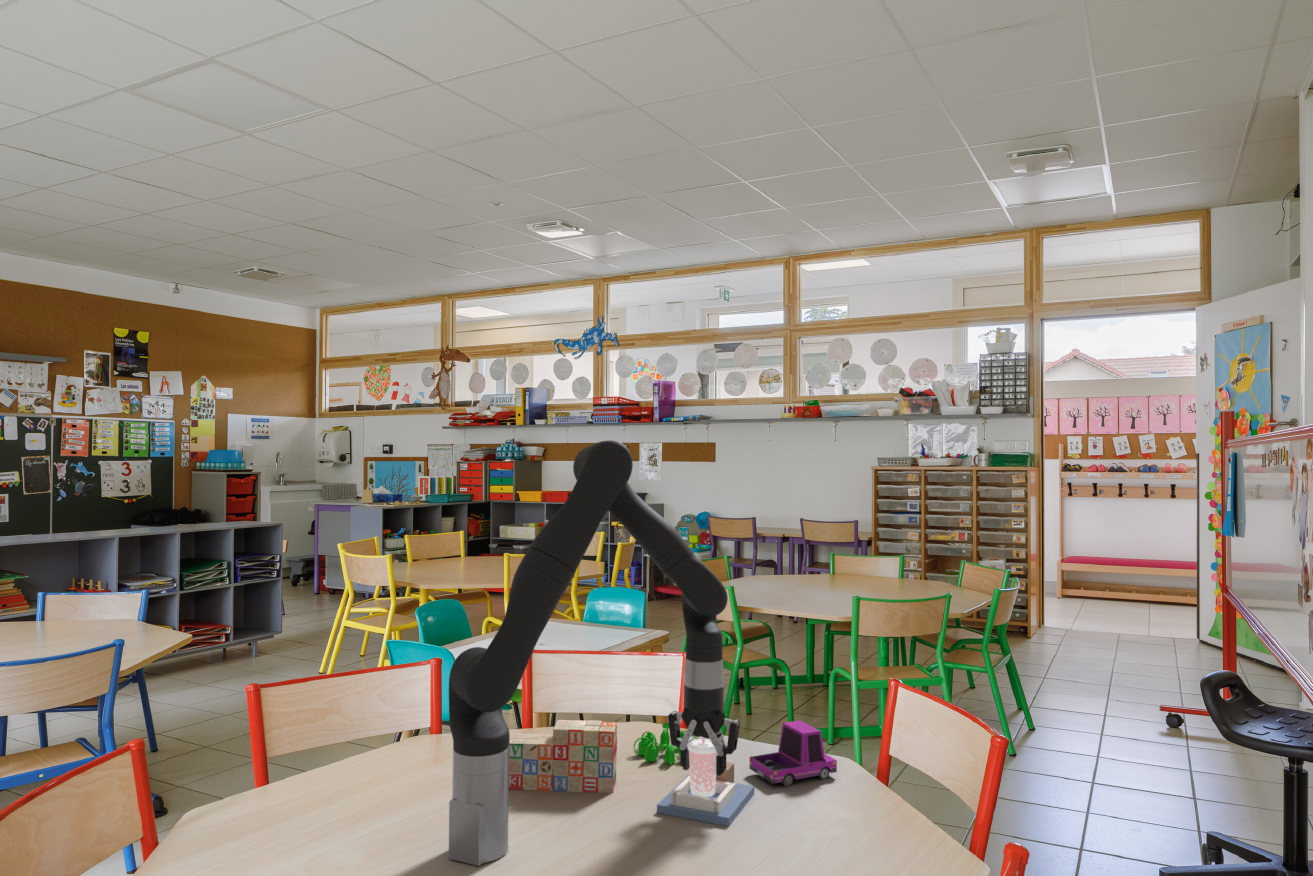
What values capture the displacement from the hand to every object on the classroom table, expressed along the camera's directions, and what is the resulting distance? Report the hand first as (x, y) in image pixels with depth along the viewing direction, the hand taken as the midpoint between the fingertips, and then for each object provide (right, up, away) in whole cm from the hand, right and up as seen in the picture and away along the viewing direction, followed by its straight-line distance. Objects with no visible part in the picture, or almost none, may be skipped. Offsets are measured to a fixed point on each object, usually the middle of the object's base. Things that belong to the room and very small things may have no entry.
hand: (703, 771), depth 158 cm
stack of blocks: (-28, -7, +10) cm, 30 cm away
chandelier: (-6, -8, +28) cm, 30 cm away
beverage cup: (0, -4, 0) cm, 4 cm away
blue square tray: (+1, -7, +2) cm, 7 cm away
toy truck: (+20, -8, +16) cm, 26 cm away
